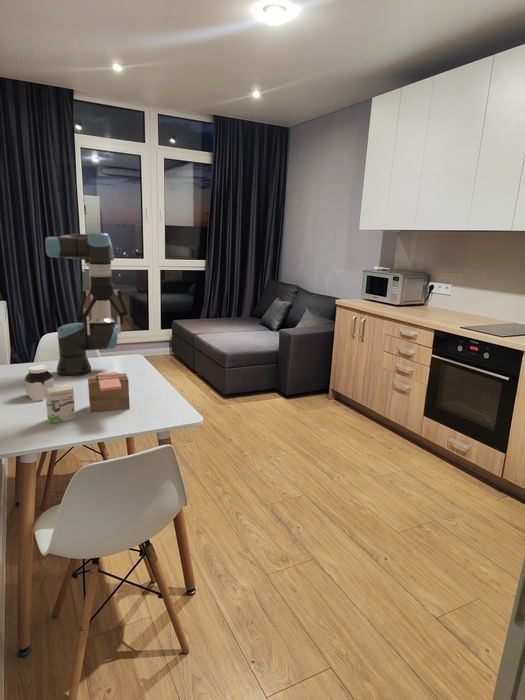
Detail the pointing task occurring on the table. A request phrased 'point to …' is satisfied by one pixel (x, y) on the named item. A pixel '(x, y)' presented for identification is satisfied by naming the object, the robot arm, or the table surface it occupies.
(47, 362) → the table surface
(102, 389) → the stub
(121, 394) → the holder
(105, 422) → the table surface
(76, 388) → the table surface
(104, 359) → the table surface
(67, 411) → the ink box
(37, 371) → the spread jar
